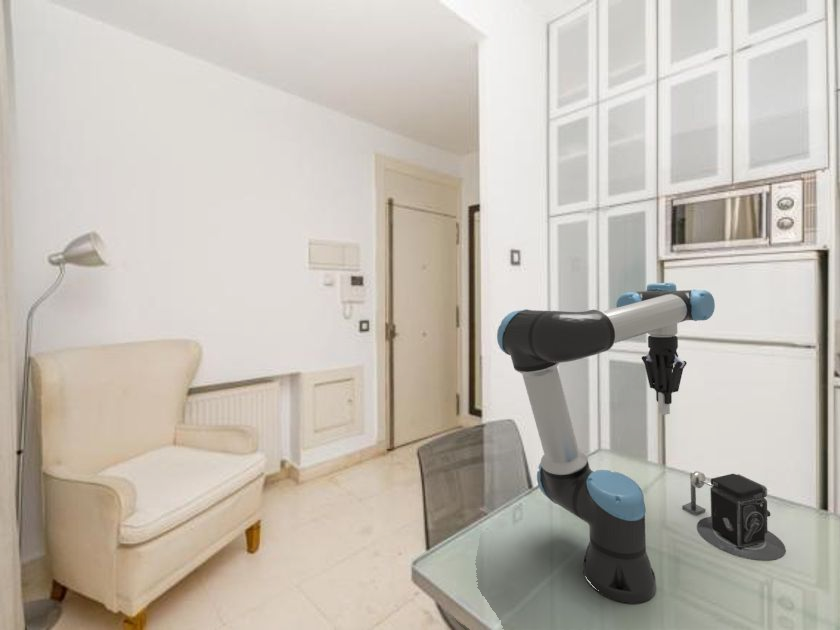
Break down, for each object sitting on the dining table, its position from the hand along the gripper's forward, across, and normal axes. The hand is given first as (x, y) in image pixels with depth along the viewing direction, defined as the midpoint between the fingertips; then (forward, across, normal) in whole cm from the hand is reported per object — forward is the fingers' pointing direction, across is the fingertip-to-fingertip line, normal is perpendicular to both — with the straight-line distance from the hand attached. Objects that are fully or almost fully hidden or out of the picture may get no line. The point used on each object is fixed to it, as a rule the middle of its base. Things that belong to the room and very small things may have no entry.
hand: (664, 413), depth 118 cm
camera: (+28, -19, -3) cm, 34 cm away
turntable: (+28, -18, -3) cm, 34 cm away
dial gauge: (+28, -7, -5) cm, 30 cm away
